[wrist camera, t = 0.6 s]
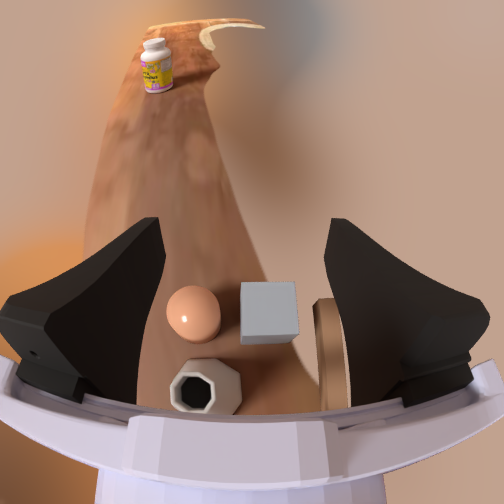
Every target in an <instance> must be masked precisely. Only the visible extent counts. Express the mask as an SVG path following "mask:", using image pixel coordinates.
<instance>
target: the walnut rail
mask: <svg viewBox="0 0 504 504" xmlns="http://www.w3.org/2000/svg"><path fill="white" fill-rule="evenodd" d="M313 315H314V326H315V335H316V346H317V359H318V372H319V386H320V403H321V411H328V410H336V409H343V408H348V403H347V387H346V374H345V364H344V353H343V343H342V335H341V326H340V319H339V311H338V308H337V305H336V302H335V299H334V298H325V299H318V301H316V303H315V304H314V305H313Z"/></svg>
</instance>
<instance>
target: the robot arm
mask: <svg viewBox="0 0 504 504" xmlns="http://www.w3.org/2000/svg"><path fill="white" fill-rule="evenodd" d="M165 259H166V254H165V249H164V244H163V239H162V234H161V229H160V224H159V219H158V217H149V218H144V219H142V220H140V221H139V222H137V223H136V224H134V225H133V226H132V227H130V228H129V229H128V230H126V231H125V232H124V233H122V234H121V235H120V236H118V237H117V238H116V239H115V240H113V241H112V242H110V243H109V244H108V245H106V246H105V247H104V248H102V249H101V250H99V251H98V252H97V253H95V254H94V255H92V256H91V257H89V258H88V259H86V260H85V261H83V262H82V263H80V264H78V265H77V266H75V267H74V268H72V269H70V270H68V271H66V272H64V273H62V274H61V275H59V276H57V277H55V278H53V279H51V280H49V281H47V282H45V283H42V284H40V285H38V286H36V287H33V288H31V289H28V290H25V291H22V292H20V293H17V294H15V295H12V296H10V297H9V298H8V299H7V301H6V302H5V304H4V306H3V307H2V309H1V310H0V333H1V334H2V336H3V337H4V338H5V340H6V341H7V342H8V343H9V344H10V346H11V347H12V348H13V349H14V350H15V351H16V352H17V354H18V355H19V356H20V357H21V358H22V360H21V362H20V365H19V364H18V363H16V362H15V361H14V360H12V359H9V358H7V357H5V356H2V355H0V420H1V421H3V422H4V423H6V424H8V425H9V426H11V427H12V428H14V429H15V430H17V431H18V432H20V433H22V434H24V435H25V436H27V437H29V438H31V439H32V440H34V441H36V442H38V443H40V444H42V445H44V446H46V447H48V448H50V449H52V450H54V451H56V452H58V453H61V454H63V455H65V456H67V457H70V458H72V459H74V460H77V461H79V462H82V463H84V464H87V465H90V466H92V467H95V468H98V469H99V473H98V480H97V488H96V496H95V504H387V502H386V494H385V486H384V478H383V474H385V473H388V472H391V471H394V470H397V469H400V468H403V467H406V466H409V465H411V464H414V463H417V462H419V461H422V460H424V459H427V458H429V457H431V456H434V455H436V454H438V453H440V452H442V451H444V450H446V449H448V448H451V447H453V446H455V445H456V444H459V443H460V442H462V441H464V440H466V439H468V438H470V437H472V436H473V435H475V434H477V433H478V432H480V431H482V430H483V429H485V428H487V427H488V426H490V425H491V424H493V423H494V422H496V421H497V420H499V419H500V418H502V417H503V416H504V383H503V380H502V378H501V375H500V373H499V371H498V368H497V366H496V364H495V362H494V359H490V360H487V361H485V362H483V363H480V364H478V365H476V366H474V367H473V368H471V369H470V367H469V365H468V362H470V361H471V356H470V354H469V350H470V349H471V348H472V347H473V346H474V345H475V343H476V342H477V341H478V340H479V339H480V337H481V336H482V335H483V334H484V332H485V331H486V329H487V327H488V325H489V321H490V315H489V313H488V311H487V310H486V308H485V306H484V305H483V303H482V302H481V301H480V299H477V298H474V297H472V296H469V295H466V294H464V293H461V292H458V291H456V290H454V289H451V288H449V287H447V286H445V285H443V284H441V283H439V282H437V281H435V280H433V279H431V278H429V277H427V276H425V275H423V274H422V273H420V272H418V271H417V270H415V269H413V268H412V267H410V266H409V265H407V264H406V263H404V262H402V261H401V260H400V259H398V258H397V257H395V256H394V255H392V254H391V253H390V252H388V251H387V250H386V249H384V248H383V247H382V246H380V245H379V244H378V243H377V242H375V241H374V240H373V239H371V238H370V237H369V236H368V235H366V234H365V233H364V232H363V231H361V230H360V229H359V228H358V227H356V226H355V225H354V224H352V223H351V222H349V221H348V220H346V219H339V218H332V219H331V224H330V230H329V234H328V239H327V244H326V249H325V254H324V262H325V267H326V272H327V277H328V280H329V283H330V286H331V289H332V292H333V296H334V299H335V302H336V305H337V308H338V311H339V314H340V317H341V321H342V325H343V329H344V335H345V341H346V347H347V355H348V363H349V372H350V385H351V407H350V408H343V409H336V410H328V411H319V412H309V413H297V414H281V415H219V414H203V413H191V412H181V411H172V410H164V409H157V408H151V407H145V406H139V405H136V400H137V379H138V368H139V359H140V352H141V345H142V340H143V334H144V329H145V325H146V321H147V317H148V314H149V311H150V308H151V305H152V303H153V300H154V297H155V294H156V291H157V288H158V285H159V283H160V280H161V277H162V273H163V269H164V264H165Z"/></svg>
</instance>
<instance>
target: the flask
mask: <svg viewBox="0 0 504 504" xmlns="http://www.w3.org/2000/svg"><path fill="white" fill-rule="evenodd" d="M170 394H171V404H172V405H174V408H176V409H177V410H179V411H181V412H191V413H203V414H219V415H233V414H234V412H235V411H236V409H237V408H238V406H239V405H240V403H241V402H242V391H241V380H240V373H238V372H237V371H235V370H234V369H232V368H230V367H229V366H227V365H226V364H224V363H222V362H221V361H219V360H218V359H216V358H212V359H188V360H187V361H186V363H185V364H184V365H183V367H182V368H181V370H180V371H179V372H178V374H177V375H176V377H175V378H174V379H173V382H172V384H171V385H170Z"/></svg>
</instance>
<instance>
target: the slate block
mask: <svg viewBox="0 0 504 504" xmlns="http://www.w3.org/2000/svg"><path fill="white" fill-rule="evenodd" d="M240 328H241V344H277V343H289V342H290V341H292V340H293V339H294V338H295V337H296V336H297V335H299V323H298V312H297V300H296V290H295V282H241V292H240Z"/></svg>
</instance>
